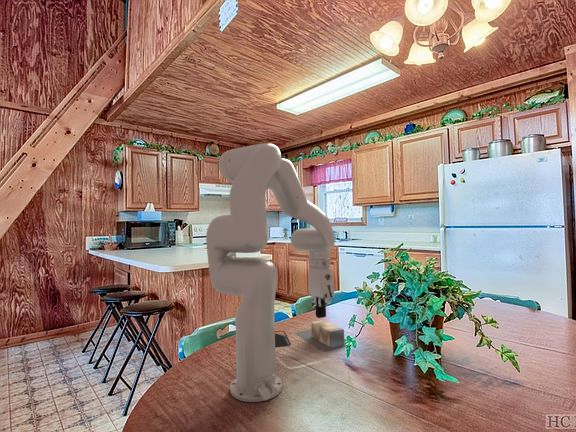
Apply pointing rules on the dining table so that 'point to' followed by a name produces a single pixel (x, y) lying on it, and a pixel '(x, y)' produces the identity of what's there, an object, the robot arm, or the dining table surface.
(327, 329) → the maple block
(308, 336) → the rubber mat
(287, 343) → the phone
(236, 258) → the robot arm
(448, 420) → the dining table surface
